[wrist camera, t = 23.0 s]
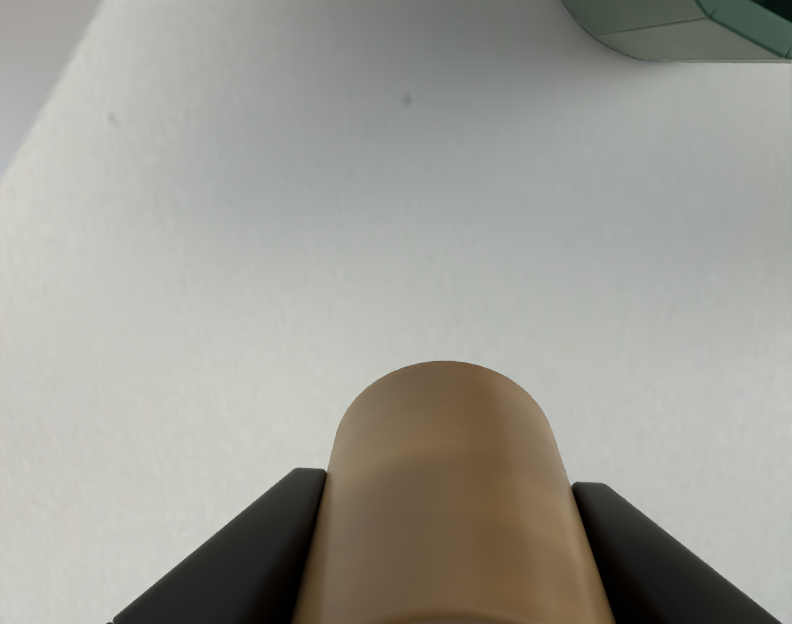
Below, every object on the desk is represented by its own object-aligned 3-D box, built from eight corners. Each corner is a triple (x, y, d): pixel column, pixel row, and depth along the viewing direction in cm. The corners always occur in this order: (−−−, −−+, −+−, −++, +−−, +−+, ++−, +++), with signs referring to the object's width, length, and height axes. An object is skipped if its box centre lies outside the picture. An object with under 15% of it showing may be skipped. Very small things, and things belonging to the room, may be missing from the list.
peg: (568, 364, 9) (687, 626, 5) (542, 554, 10) (622, 898, 6) (333, 353, 9) (255, 600, 5) (333, 542, 10) (269, 873, 6)
